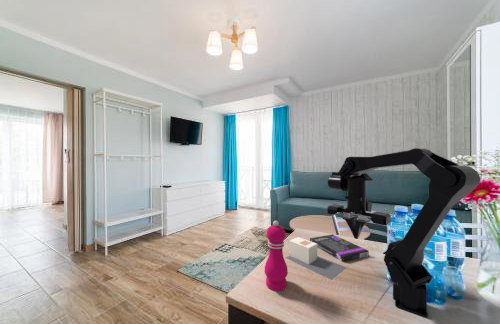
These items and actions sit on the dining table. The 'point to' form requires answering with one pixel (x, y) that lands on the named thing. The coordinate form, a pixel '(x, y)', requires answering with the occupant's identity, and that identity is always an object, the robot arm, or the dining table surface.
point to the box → (339, 248)
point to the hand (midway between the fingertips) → (356, 238)
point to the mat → (321, 266)
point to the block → (303, 250)
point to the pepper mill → (276, 258)
